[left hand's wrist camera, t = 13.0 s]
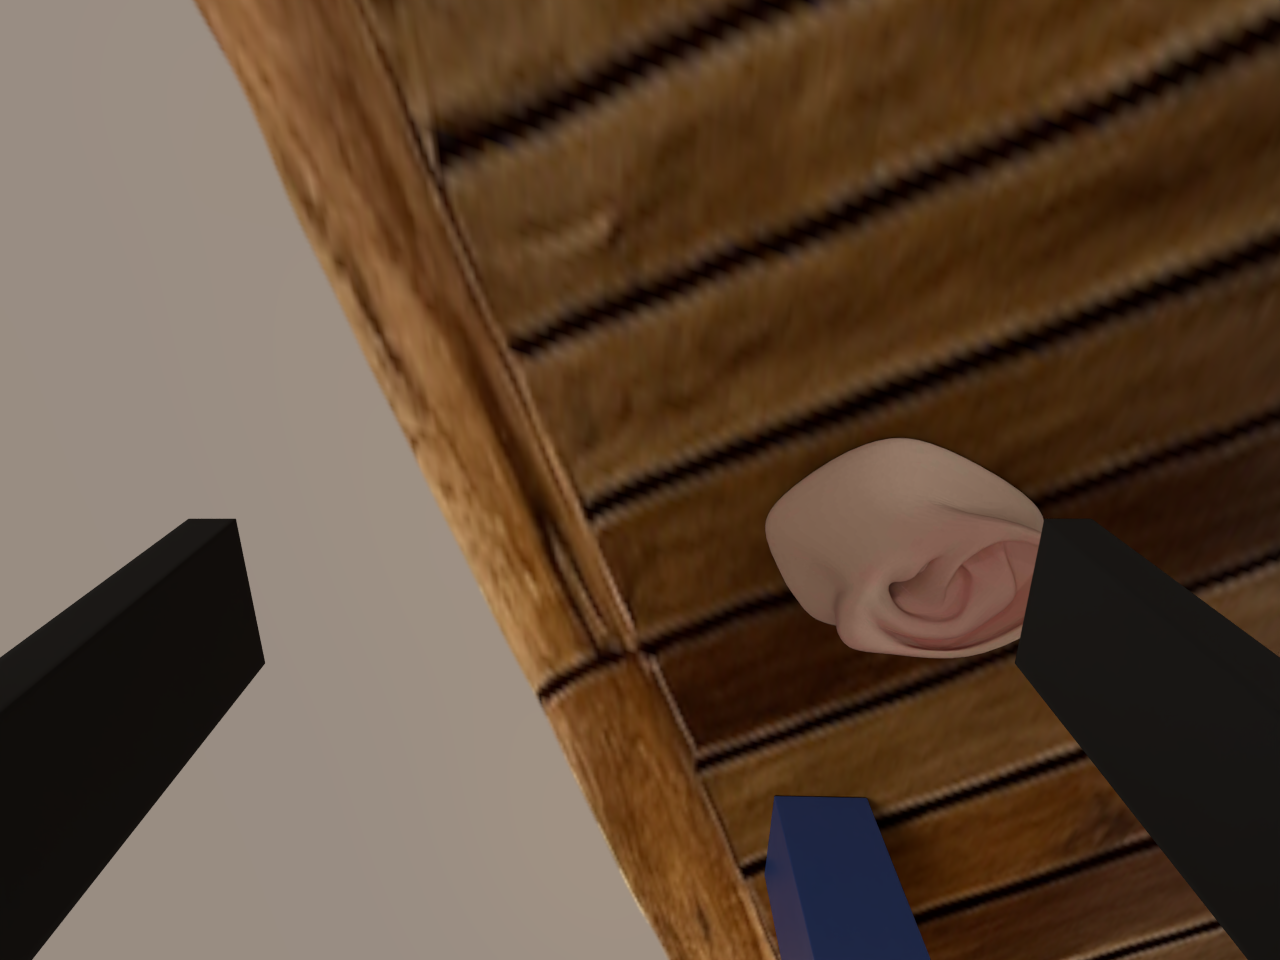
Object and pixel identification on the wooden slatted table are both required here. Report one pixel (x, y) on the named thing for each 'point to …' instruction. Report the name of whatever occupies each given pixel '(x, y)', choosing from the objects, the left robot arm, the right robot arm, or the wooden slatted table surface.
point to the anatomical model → (908, 550)
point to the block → (836, 884)
